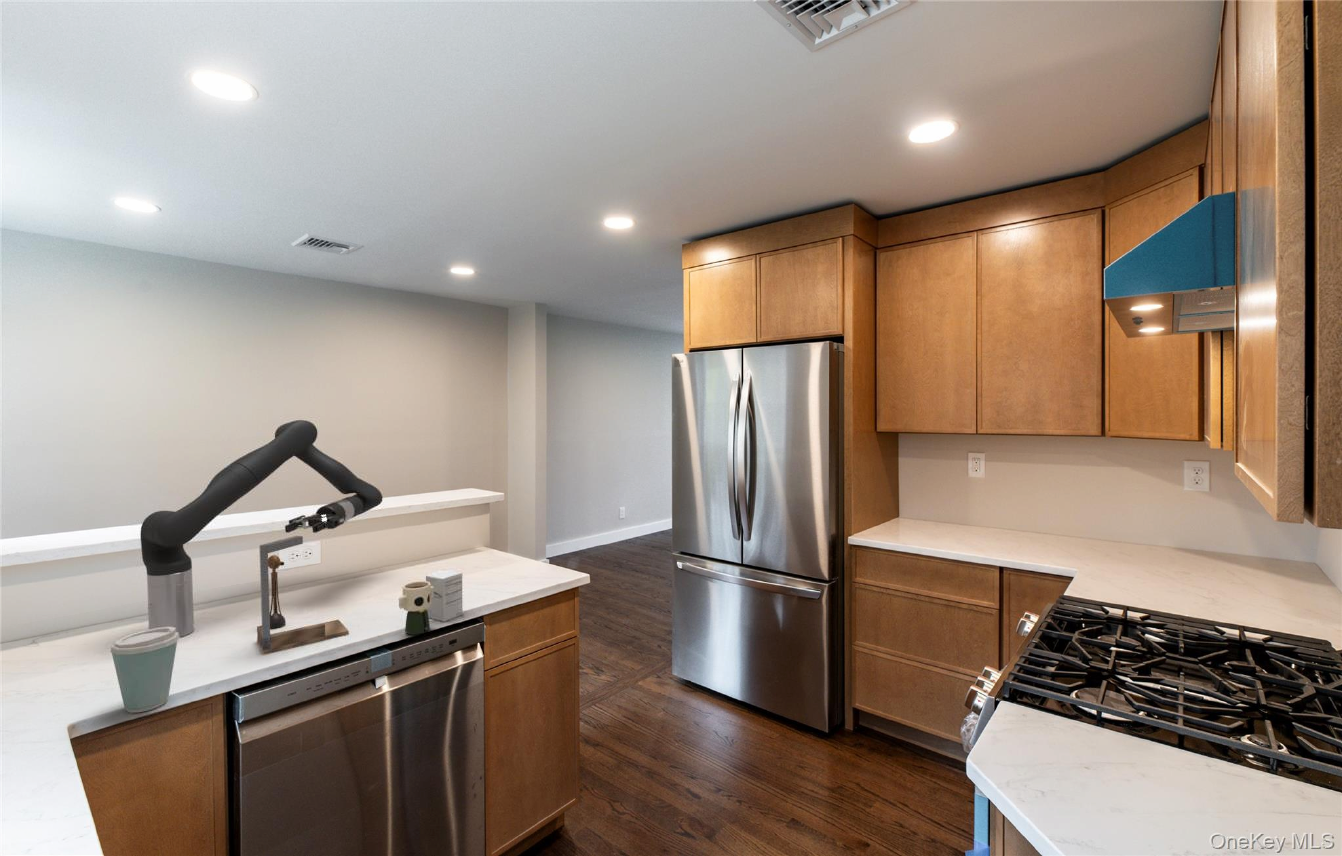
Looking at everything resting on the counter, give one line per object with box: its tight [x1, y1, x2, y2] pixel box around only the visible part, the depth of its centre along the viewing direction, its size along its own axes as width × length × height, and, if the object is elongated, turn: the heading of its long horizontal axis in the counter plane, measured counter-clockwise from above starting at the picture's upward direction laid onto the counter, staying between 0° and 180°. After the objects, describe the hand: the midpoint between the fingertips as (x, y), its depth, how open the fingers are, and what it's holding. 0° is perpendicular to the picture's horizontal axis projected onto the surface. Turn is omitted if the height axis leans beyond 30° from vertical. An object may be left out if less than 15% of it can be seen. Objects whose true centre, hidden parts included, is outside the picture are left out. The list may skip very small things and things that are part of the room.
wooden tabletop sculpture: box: [268, 554, 287, 630], centre depth 164 cm, size 6×5×20 cm
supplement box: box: [425, 569, 463, 623], centre depth 173 cm, size 7×7×13 cm
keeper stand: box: [256, 535, 350, 655], centre depth 156 cm, size 19×11×27 cm, turn 132°
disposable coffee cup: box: [110, 627, 181, 714], centre depth 122 cm, size 11×11×15 cm
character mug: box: [398, 580, 434, 635], centre depth 161 cm, size 11×7×13 cm, turn 152°
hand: (300, 529), depth 174 cm, fingers open, 8 cm apart
